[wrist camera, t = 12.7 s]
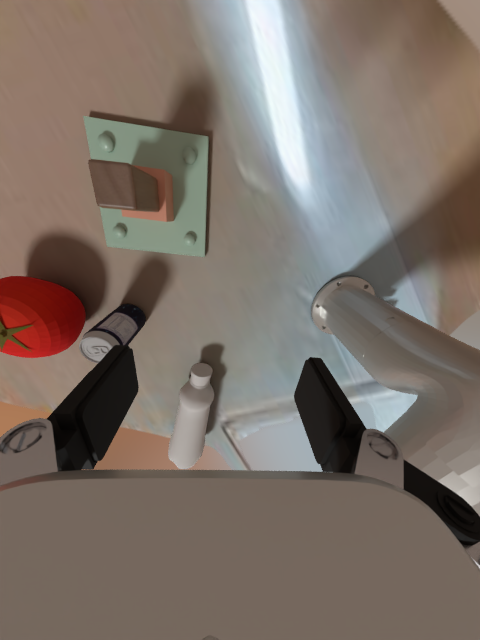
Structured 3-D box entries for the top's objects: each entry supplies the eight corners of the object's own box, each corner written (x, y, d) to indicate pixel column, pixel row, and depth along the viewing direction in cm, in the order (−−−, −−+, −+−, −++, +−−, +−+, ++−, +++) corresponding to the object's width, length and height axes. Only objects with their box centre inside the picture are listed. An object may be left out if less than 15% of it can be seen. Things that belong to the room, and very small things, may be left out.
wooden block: (130, 209, 27) (95, 207, 20) (125, 174, 25) (85, 157, 18) (160, 212, 27) (136, 211, 20) (157, 177, 26) (130, 162, 19)
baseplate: (209, 138, 28) (207, 134, 26) (205, 256, 35) (204, 257, 34) (88, 119, 26) (80, 113, 25) (110, 245, 34) (105, 247, 32)
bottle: (208, 451, 57) (230, 370, 45) (185, 481, 49) (204, 393, 37) (184, 432, 60) (200, 351, 48) (160, 456, 53) (170, 369, 40)
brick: (172, 175, 29) (164, 169, 25) (173, 221, 32) (166, 221, 28) (129, 169, 28) (114, 162, 25) (134, 216, 31) (122, 216, 27)
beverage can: (114, 302, 38) (69, 334, 28) (144, 301, 39) (111, 334, 28) (121, 327, 41) (84, 366, 30) (149, 327, 41) (122, 365, 31)
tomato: (32, 328, 40) (-37, 367, 30) (14, 261, 34) (-79, 280, 24) (99, 340, 42) (57, 380, 32) (95, 278, 36) (40, 303, 26)
